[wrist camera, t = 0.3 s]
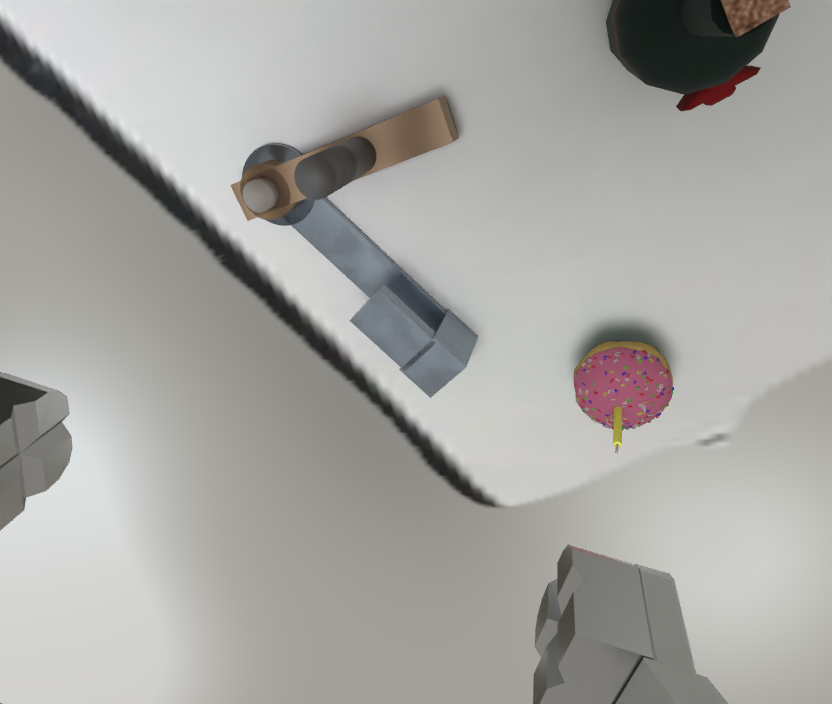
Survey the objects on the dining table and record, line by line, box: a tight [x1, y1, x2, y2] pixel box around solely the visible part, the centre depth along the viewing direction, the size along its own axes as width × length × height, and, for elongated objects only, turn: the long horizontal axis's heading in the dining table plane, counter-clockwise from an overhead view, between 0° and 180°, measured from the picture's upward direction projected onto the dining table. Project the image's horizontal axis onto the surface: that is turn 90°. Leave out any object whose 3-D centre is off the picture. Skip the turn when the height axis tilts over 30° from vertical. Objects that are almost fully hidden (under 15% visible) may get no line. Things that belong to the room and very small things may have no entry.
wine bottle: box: [606, 0, 791, 111], centre depth 33 cm, size 8×10×30 cm
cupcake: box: [574, 341, 674, 453], centre depth 53 cm, size 9×8×12 cm
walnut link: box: [231, 96, 459, 221], centre depth 50 cm, size 21×5×12 cm, turn 112°
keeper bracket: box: [242, 144, 478, 398], centre depth 57 cm, size 28×8×6 cm, turn 49°
